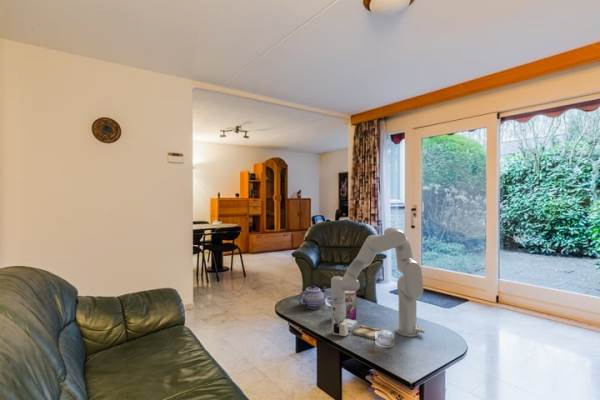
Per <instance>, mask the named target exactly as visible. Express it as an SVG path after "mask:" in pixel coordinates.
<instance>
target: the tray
mask: <svg viewBox="0 0 600 400" xmlns="http://www.w3.org/2000/svg"><path fill="white" fill-rule="evenodd" d="M375 331H382V332H383V330H382V329H378V328H373V327H370V326H366V325H361V324H358V325H357V326H356V327H355V328H354V329H353V330H352V334H353V335H356V336H360V337H364V338H367V339H371V340H374V339H375V336H374V334H375Z"/></svg>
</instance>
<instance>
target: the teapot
mask: <svg viewBox="0 0 600 400" xmlns="http://www.w3.org/2000/svg"><path fill="white" fill-rule="evenodd" d="M326 290H327V286H323V287H322V289H321V288H320V287H318V286H316V285H315V284H311V286H308V287H306V288H305V290H304V291H301V292H300V293H299V295H298V299H297V300H298V303H299V305H301V306H304V307H306V308H307V309H311V310H317V309H320V308H321V306H323V304H324V302H325V301H324V300H325V295H326ZM301 297H302V298H301ZM301 300H302V301H301Z"/></svg>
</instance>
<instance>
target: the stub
mask: <svg viewBox="0 0 600 400" xmlns="http://www.w3.org/2000/svg"><path fill="white" fill-rule="evenodd" d="M335 323H337V322H335ZM348 332H349V331H348V323H347V322H341V321H340V322H339V334H336V333H334V326H333V324H332V322H331V334H332V335H337V336H342V337H346V336H348V335H349V333H348Z"/></svg>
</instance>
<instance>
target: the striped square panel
mask: <svg viewBox="0 0 600 400" xmlns="http://www.w3.org/2000/svg"><path fill="white" fill-rule="evenodd" d="M343 322H347V323H348V332H353V331H354V330H355V329H356V328H357V327H358V326H359V324H358V321H357V320H356V319H348V318H344V319H343Z"/></svg>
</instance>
